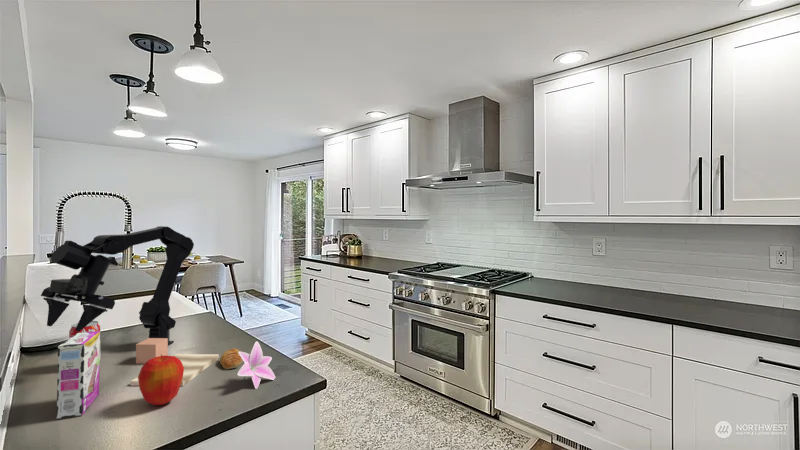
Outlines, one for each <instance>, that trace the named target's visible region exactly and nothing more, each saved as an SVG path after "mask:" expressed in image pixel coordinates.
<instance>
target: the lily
mask: <svg viewBox="0 0 800 450" xmlns="http://www.w3.org/2000/svg"><path fill="white" fill-rule="evenodd" d="M240 351H241V350H239V352H238V353H239V355H240V356H241V358H242V359H243V361H242V362H244V364H243V365H242V366H241V368H240V369H239V370H238V372H237V376H238V377H243V379H244V380H245V379H246V377H251V380H252V384H253V386H254V388H255V389H258V388H259V385H260V382H261V380H262V379H263V378H264V379H266V380H272V381H275V380H274V379H275V378H276V375H275V373H274V371H273V370H272V368H271V367H270V366H269V365H270V363H271V361H272V359H273V357H271V356H268V355H264V354H263V350H262V347H261V345H260V343H259V341H257V340H256V341H255V342H254V345H253V347H252V350H251V351H250V353H248V352H244V351H241V352H240ZM276 379H277V378H276Z"/></svg>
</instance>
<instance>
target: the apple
mask: <svg viewBox="0 0 800 450" xmlns="http://www.w3.org/2000/svg"><path fill="white" fill-rule="evenodd" d="M183 373H184V367H183V364H182V362H181V361H180V359H178V358H176V357H175V356H173V355H168V356H162V354H161V356H159V357H155V358H152V359H150V360H148V361H147V362H146V363H145V364H142V367H141V369H140V371H139V373H138V376H137V377H138V381H139V386H138V387H139V391H140V393H141V395H142V397H143V399H144V401H145V402H146V403H148V404H151V405H153V406H164V405H167V404H168V403H170V402H171V401H172V400H174V399H175V398H176V397H177V395H178V393H179V392H180V391H179V390H180V388H181V386H180V385H181V383H182V379H183Z"/></svg>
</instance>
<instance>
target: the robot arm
mask: <svg viewBox="0 0 800 450" xmlns="http://www.w3.org/2000/svg"><path fill="white" fill-rule="evenodd" d="M157 240H159V241H160V242H161V243H162V244H163V245H164V246H166V247H165V255H166V261H165V264H164V266H163V270H162V271H161V275H160V277H159V281H158V283H157V285H156V288H155V291H154V292H153V295H152V298H151V299H150V300H149V301H143V303H142V304H141V308H140V311H139V312H138V314H139V321H140V323H142V325H143V328H144V329H149V330H148V332H149V333H148V338H168V346H170V345H172V344H173V343H174V342H175V340H170V330H171V329H173V328H175V326H176V323H177V322H176V321H177V320H175V319H173V318H172V317H171V315H170V311H171V307H170V302H169V301H170V297H171V295H172V292H173V290H174V289H173V288H174V287H175V283H176V280H177V278H178V275H179V273H180V272H179V271H180V269H181V267H182V263H183V262H184V261H185V260H186V259H187V258H188V257H189V256H190V254H191V253H192V251H193V249H194V246H195V244H194V241H193V239H192V238H191V237H188V236H185V235H184V234H182V233H180V232H178V231H176V230H174V229H173V228H171V227H170V226H163V225H160V226H159V225H158V226H156V227H152V228H148V229H144V230H143V229H142V230H140V231H139V230H138V231H134V232H129V233H125V234H124V233H123V234H101V235H96V236H95V237H94V238H93V240H91V242H88V243H85V244H84V245H81V244H78V243H77V242H75V241H72V240H65V241H64V242H63V244H61V245H59V246H58V247H57V248H56V249H54V251H53V252H52V253H51V257H50V259H51V260H50V261H51V262H52V263H53V264H56V265H60V266H63V267H66V268H69V269H72V270H76V271H77V270H79V269H80V271H79V272H78V274H73V275H72V276H71V278H68V279H67V278H61V279H51V280H50V286H47V287H46V288H44V289H43V290H42V292H41V294H40V296H41V297H43V298H42V299H43V300H44V301H46V303H47V306H48V310H47V311H48V312H47V321H46V326H47V327H52V326H53V325H55V323H56V322H57V321H58V320H59V318H60V317H61V315H62V314H63V313H65V311H66V309H67V308H68V307H69V306H70V303H69V302H70V301H73V302H81V303H82V308H83V312H82V314H81V316H80V319H79V321H78V322H77V323H78V325H77V327H76V331H81V330H82V329H83V328H84V327H86V326H87V325H88V324H89V323H90V322H91V321H95V319H96V318H98V317H100V316H101V315H102V314H103V313H106V312H108V310H113V309H114V307H115V304H116V302H115V299H114V298H111V297H107V296H104V295H99V294H95V293H97V290H98V289H99V286H103V285H104V284H105V281H102V280H103V278H104V277H105V275H106V274H107V273H106V272H107V271H108V268H109V267H110V266H118V265H119V263H118V261H117V260H116V257H115V256H112V255H117V254H120V253H122V252H125V251H127V250H128V249H129V248H131V247H132V246H137V245H140V244H141V245H142V244H145V243H148V242H149V243H150V242H153V241H157ZM94 254H97V255H94ZM104 255H110V256H108V257H107V256H104ZM83 297H84V298H83ZM83 303H84V304H83Z"/></svg>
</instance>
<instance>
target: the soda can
mask: <svg viewBox="0 0 800 450" xmlns="http://www.w3.org/2000/svg"><path fill="white" fill-rule="evenodd" d="M77 325H78V322H76V323H73V324H71V327H70V329H69V330H68V333H69V334H68V336H69V338H68V339H70V338H71V337H73V336H74V335H76V334H77V333H83V332H96V331H100V332H101V326H100V325H99V321H97V320H93V321H91V322H90V323H89V324H88V325H87V326H86V327H84V328H83V329H82V330H81V331H76V327H77ZM101 356H102V355H101V351H100V361H101V359H102V357H101Z"/></svg>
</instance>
